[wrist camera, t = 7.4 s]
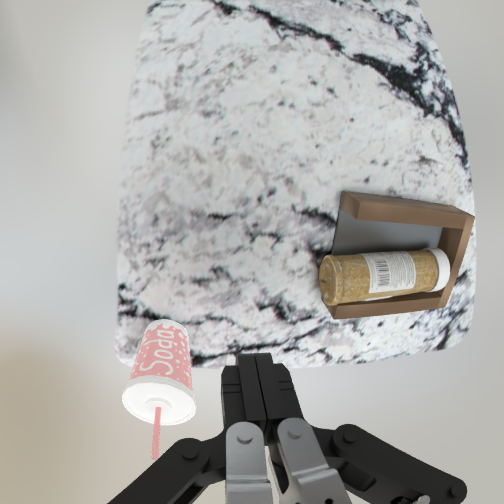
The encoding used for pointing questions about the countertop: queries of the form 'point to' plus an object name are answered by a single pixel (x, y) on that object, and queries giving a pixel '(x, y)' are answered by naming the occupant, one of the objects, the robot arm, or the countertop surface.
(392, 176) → the countertop surface
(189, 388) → the beverage cup
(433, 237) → the u rest
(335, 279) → the sprinkles bottle
